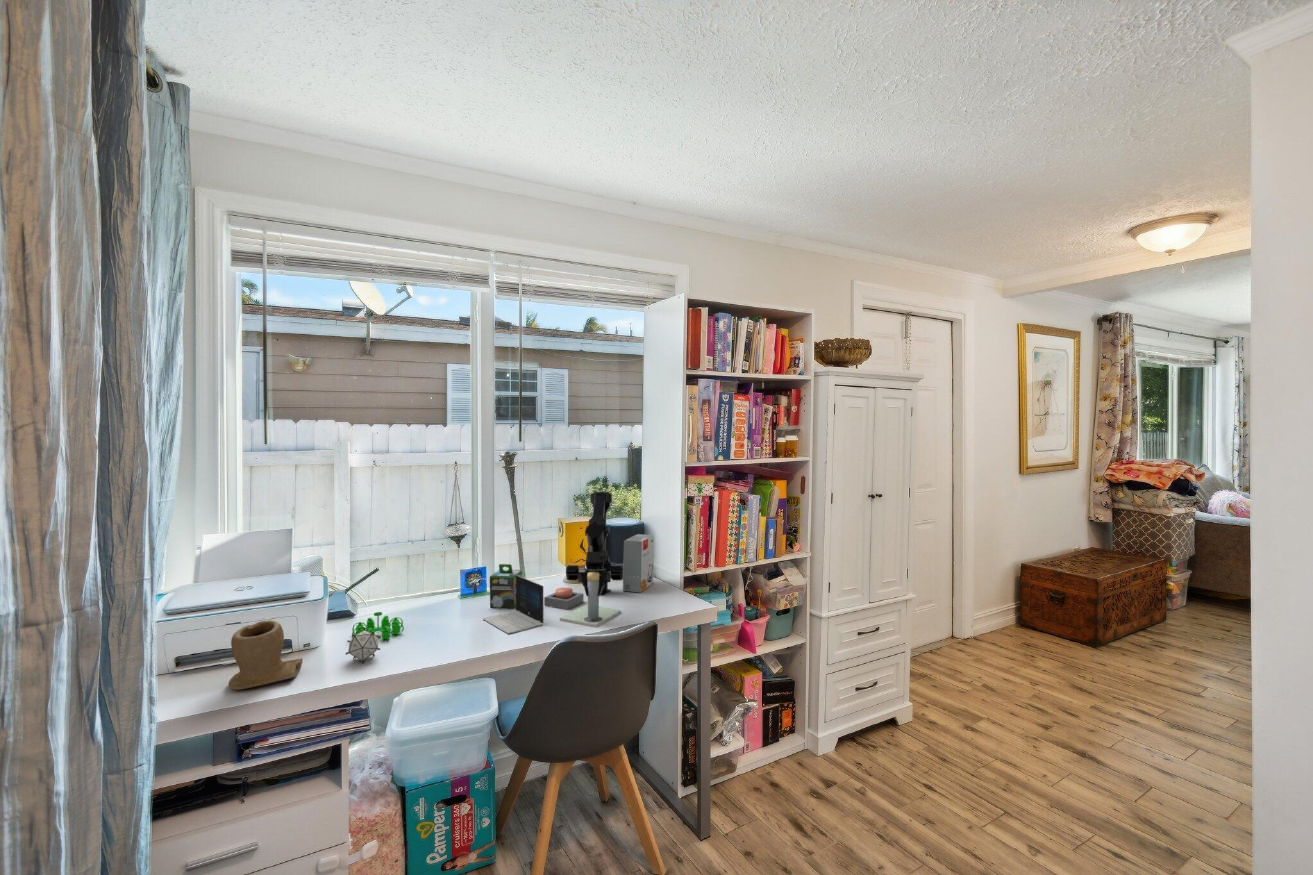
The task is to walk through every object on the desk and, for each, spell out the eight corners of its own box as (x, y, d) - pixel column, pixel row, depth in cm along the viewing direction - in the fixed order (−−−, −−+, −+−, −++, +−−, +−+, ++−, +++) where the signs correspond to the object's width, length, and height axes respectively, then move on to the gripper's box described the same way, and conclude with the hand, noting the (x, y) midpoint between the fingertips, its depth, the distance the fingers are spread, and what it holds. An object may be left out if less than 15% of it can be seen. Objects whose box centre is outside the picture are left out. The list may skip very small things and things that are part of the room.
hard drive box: (640, 593, 217) (641, 541, 216) (622, 591, 219) (622, 540, 219) (654, 583, 231) (654, 534, 231) (636, 581, 234) (636, 533, 233)
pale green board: (586, 606, 200) (586, 604, 200) (620, 612, 194) (620, 610, 194) (559, 620, 186) (559, 617, 186) (595, 627, 180) (595, 624, 180)
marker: (594, 612, 188) (594, 571, 187) (601, 615, 185) (601, 573, 185) (585, 615, 185) (585, 573, 185) (592, 618, 182) (592, 575, 182)
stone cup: (225, 700, 131) (224, 636, 131) (231, 680, 141) (230, 620, 141) (302, 684, 139) (302, 624, 139) (302, 667, 149) (302, 610, 149)
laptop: (482, 620, 186) (482, 581, 186) (516, 612, 195) (516, 574, 195) (508, 635, 173) (508, 593, 173) (543, 626, 181) (544, 585, 181)
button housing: (560, 597, 210) (560, 589, 210) (583, 601, 206) (583, 593, 206) (544, 605, 201) (544, 597, 201) (567, 609, 197) (567, 601, 197)
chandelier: (340, 645, 164) (340, 622, 164) (363, 627, 179) (363, 605, 179) (393, 644, 165) (393, 621, 165) (412, 626, 180) (412, 604, 180)
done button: (562, 593, 207) (562, 586, 207) (575, 595, 205) (575, 588, 205) (552, 597, 202) (552, 590, 202) (566, 600, 199) (566, 593, 199)
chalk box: (523, 600, 207) (523, 560, 206) (514, 609, 197) (514, 566, 197) (498, 600, 208) (498, 560, 207) (488, 608, 198) (488, 566, 198)
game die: (358, 676, 152) (334, 654, 147) (360, 654, 159) (338, 632, 154) (389, 658, 154) (366, 635, 149) (390, 636, 161) (368, 614, 156)
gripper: (566, 541, 188) (561, 583, 177) (622, 541, 189) (621, 583, 178) (569, 559, 196) (565, 600, 185) (622, 558, 197) (621, 600, 186)
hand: (592, 595), depth 183 cm, fingers closed on marker, 3 cm apart
